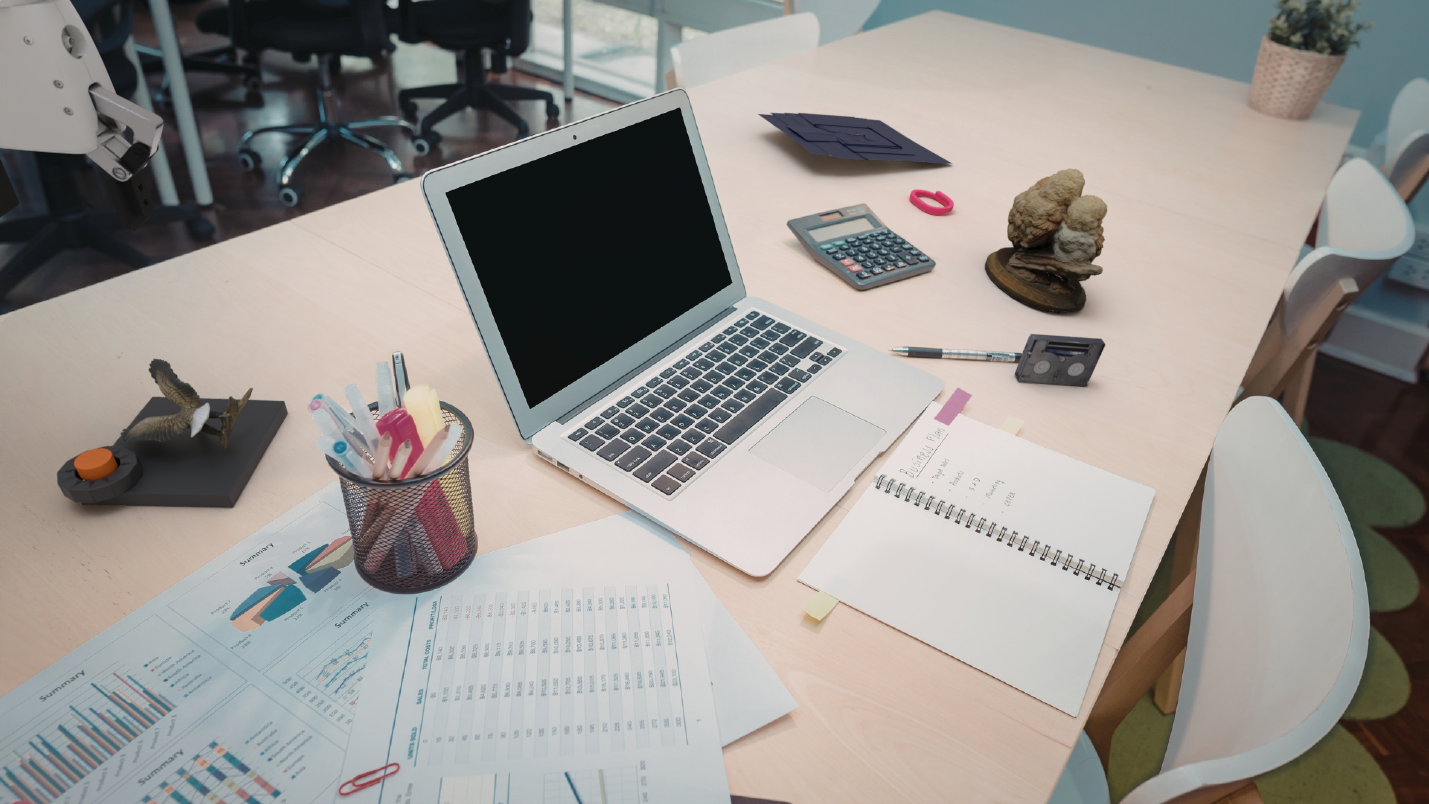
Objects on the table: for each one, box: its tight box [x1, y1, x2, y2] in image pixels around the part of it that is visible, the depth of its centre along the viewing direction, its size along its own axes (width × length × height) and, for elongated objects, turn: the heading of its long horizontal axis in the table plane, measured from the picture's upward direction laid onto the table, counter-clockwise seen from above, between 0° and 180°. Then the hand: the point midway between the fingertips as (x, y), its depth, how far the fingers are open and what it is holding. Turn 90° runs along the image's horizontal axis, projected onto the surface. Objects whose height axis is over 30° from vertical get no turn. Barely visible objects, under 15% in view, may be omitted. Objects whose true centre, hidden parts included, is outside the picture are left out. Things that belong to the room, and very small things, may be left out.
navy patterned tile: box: [757, 112, 954, 165], centre depth 151 cm, size 24×30×4 cm
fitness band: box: [909, 189, 955, 216], centre depth 133 cm, size 8×6×2 cm
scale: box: [56, 396, 289, 509], centre depth 72 cm, size 13×14×3 cm
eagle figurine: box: [120, 358, 254, 449], centre depth 71 cm, size 8×7×9 cm
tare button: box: [74, 447, 117, 481], centre depth 67 cm, size 3×3×1 cm
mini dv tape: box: [1014, 333, 1106, 388], centre depth 93 cm, size 8×2×6 cm, turn 90°
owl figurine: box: [984, 168, 1108, 314], centre depth 109 cm, size 18×12×17 cm, turn 19°
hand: (71, 218), depth 62 cm, fingers open, 9 cm apart
